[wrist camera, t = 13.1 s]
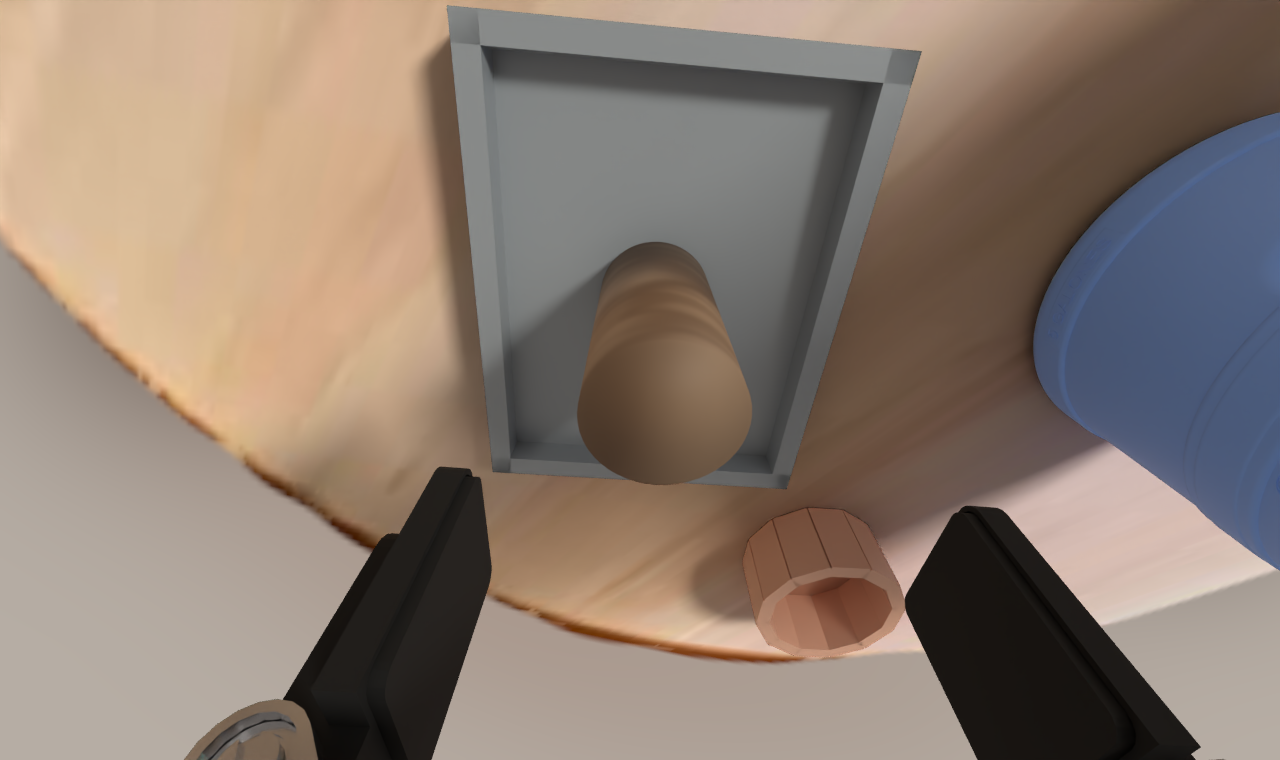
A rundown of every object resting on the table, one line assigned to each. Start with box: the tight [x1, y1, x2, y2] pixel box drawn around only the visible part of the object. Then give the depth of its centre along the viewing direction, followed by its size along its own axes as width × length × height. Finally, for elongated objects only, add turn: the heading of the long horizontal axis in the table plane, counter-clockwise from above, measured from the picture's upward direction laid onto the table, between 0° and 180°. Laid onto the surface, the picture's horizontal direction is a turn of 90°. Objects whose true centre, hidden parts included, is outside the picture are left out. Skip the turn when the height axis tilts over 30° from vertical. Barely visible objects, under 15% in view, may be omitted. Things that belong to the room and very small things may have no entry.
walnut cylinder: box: [577, 242, 752, 485], centre depth 18 cm, size 5×5×10 cm
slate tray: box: [447, 5, 922, 489], centre depth 22 cm, size 16×20×2 cm
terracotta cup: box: [742, 508, 905, 657], centre depth 31 cm, size 9×9×4 cm
